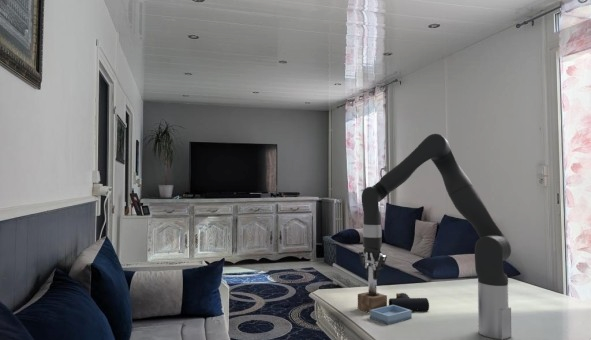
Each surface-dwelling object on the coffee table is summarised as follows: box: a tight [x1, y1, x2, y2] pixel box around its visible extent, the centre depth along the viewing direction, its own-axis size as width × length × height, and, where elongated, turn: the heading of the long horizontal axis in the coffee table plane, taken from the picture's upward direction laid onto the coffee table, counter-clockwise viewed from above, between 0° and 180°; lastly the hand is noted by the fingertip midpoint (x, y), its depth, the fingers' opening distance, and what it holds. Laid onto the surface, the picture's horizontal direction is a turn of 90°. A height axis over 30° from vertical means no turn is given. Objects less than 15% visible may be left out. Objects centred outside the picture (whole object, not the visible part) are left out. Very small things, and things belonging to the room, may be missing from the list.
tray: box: [369, 305, 413, 325], centre depth 152 cm, size 9×13×3 cm
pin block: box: [357, 291, 388, 314], centre depth 163 cm, size 8×8×6 cm
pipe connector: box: [388, 292, 430, 312], centre depth 166 cm, size 12×5×15 cm
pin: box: [367, 265, 378, 297], centre depth 163 cm, size 3×3×12 cm
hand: (372, 278), depth 163 cm, fingers closed on pin, 3 cm apart
